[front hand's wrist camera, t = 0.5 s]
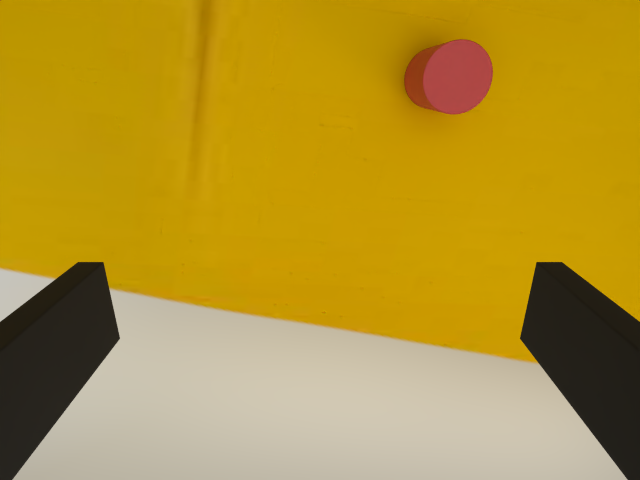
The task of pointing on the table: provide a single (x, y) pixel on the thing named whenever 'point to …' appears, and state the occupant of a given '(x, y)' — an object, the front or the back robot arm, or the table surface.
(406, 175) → the table surface
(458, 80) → the can
